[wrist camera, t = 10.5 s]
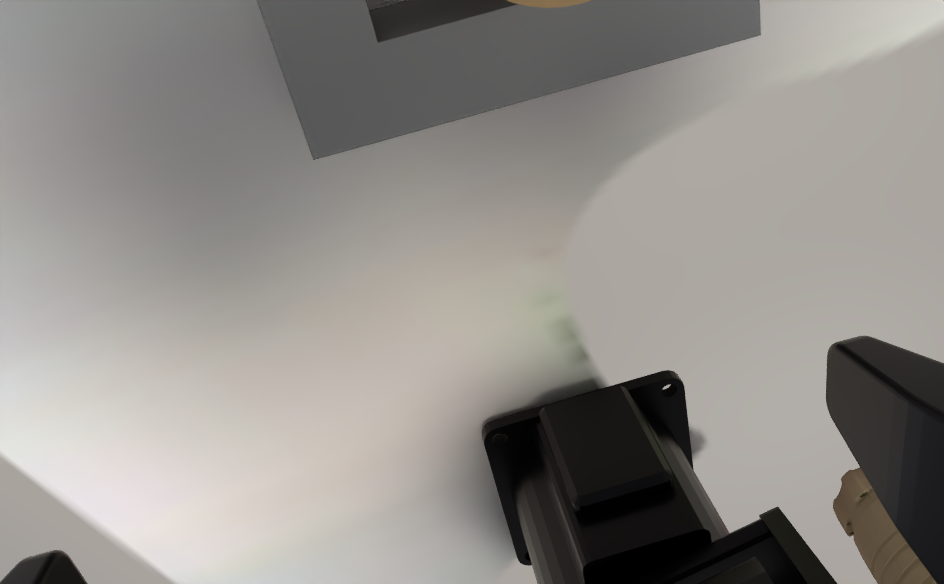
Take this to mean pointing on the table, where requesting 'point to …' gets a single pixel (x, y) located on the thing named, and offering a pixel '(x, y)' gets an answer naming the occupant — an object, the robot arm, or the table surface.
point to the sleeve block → (470, 56)
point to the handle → (876, 534)
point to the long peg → (548, 3)
